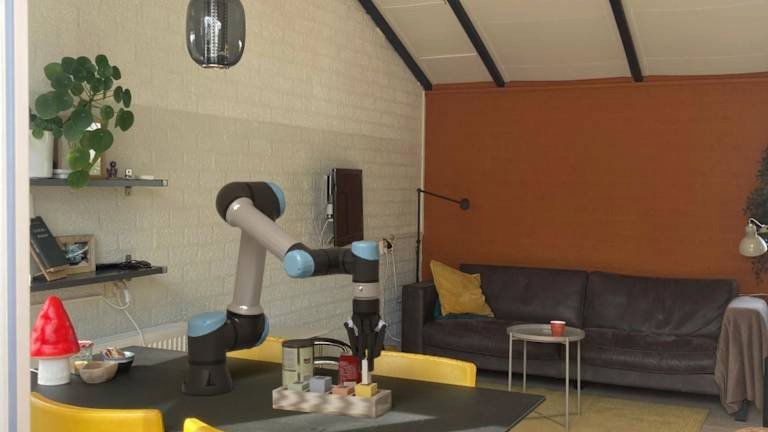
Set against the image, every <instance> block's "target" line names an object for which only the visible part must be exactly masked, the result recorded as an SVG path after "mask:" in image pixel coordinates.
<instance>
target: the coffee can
mask: <svg viewBox="0 0 768 432" xmlns="http://www.w3.org/2000/svg"><path fill="white" fill-rule="evenodd" d="M280 343H281V365H282V366H281V367H282V368H281V369H282V372H281V373H282V379H281V380H282V386H284V385H286V384H288V383H291V382H294V381H303V382H309V383H310V379H311V378H313V377H315V376H316V375H315V367H316V366H315V363H316V362H315V343H316V341H315V340H313V339H308V338H307V339H305V338H296V339H295V338H292V339H286V340H283V341H281V342H280Z"/></svg>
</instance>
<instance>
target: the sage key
mask: <svg viewBox="0 0 768 432" xmlns="http://www.w3.org/2000/svg"><path fill="white" fill-rule="evenodd" d="M287 388H288V390H292V391H304V390H306V389H308V388H309V382H303V381H294V382H291V383H289V384H287Z"/></svg>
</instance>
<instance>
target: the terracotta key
mask: <svg viewBox="0 0 768 432" xmlns="http://www.w3.org/2000/svg"><path fill="white" fill-rule="evenodd" d="M353 392H354V386H348V385H339V384H338V385H337V386H336V387H334V388H332V394H334V395H345V396H348V395H350V394H352V393H353Z"/></svg>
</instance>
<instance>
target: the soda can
mask: <svg viewBox="0 0 768 432" xmlns="http://www.w3.org/2000/svg"><path fill="white" fill-rule="evenodd" d="M361 382H362V371H360V370H359V359H358V358H357V357H353V355H352V351H351V350H346V351H342V352H340V356H339V357H338V385H348V386H354V387H355V386H356V385H357V384H359V383H361Z"/></svg>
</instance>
